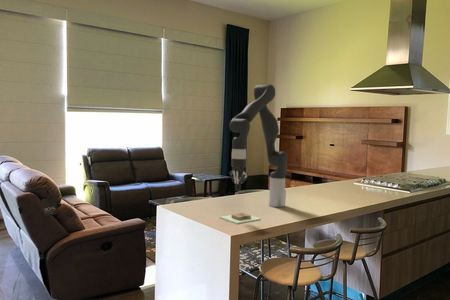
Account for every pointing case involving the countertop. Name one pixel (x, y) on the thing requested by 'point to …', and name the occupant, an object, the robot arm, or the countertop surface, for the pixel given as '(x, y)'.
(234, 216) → the brown wooden block
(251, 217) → the mat
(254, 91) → the robot arm
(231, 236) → the countertop surface
